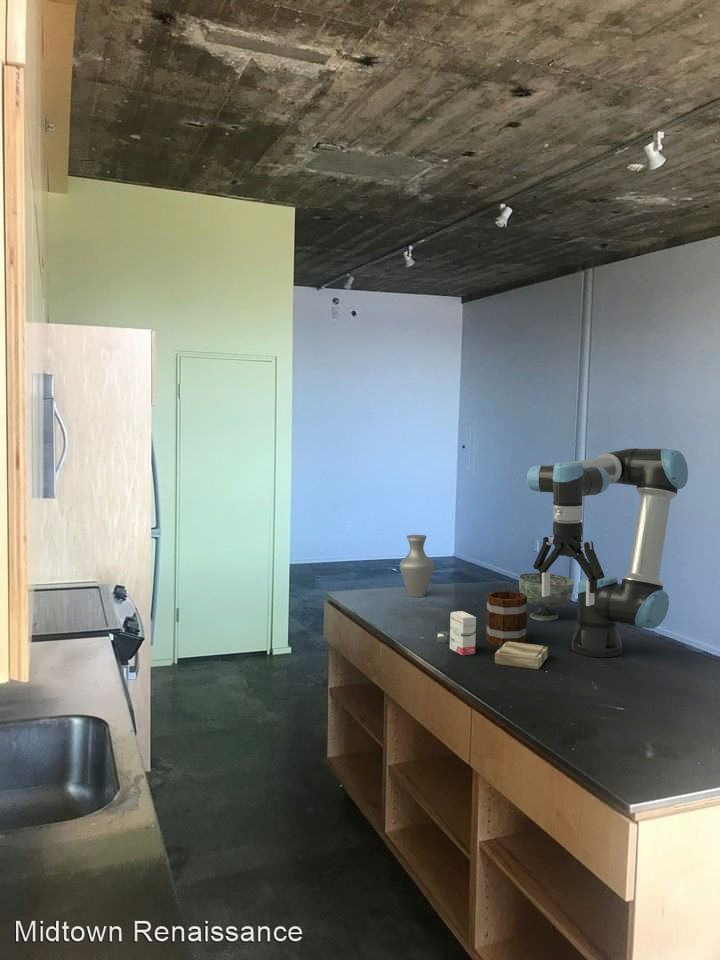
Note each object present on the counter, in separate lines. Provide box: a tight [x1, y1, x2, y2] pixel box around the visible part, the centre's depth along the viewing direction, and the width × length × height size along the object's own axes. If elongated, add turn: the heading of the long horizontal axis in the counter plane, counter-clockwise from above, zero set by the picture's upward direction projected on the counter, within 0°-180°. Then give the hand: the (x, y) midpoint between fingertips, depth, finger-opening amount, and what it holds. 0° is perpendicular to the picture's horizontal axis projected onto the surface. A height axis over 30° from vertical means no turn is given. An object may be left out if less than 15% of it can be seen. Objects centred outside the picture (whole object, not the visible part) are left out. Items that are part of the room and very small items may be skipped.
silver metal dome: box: [436, 630, 450, 645], centre depth 245 cm, size 4×4×3 cm
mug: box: [485, 590, 528, 647], centre depth 248 cm, size 20×14×15 cm
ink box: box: [449, 610, 477, 656], centre depth 234 cm, size 9×5×12 cm, turn 22°
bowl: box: [518, 572, 575, 622], centre depth 273 cm, size 20×19×15 cm
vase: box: [399, 534, 435, 598], centre depth 309 cm, size 14×14×25 cm
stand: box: [494, 642, 549, 670], centre depth 225 cm, size 13×13×4 cm
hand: (567, 600), depth 198 cm, fingers open, 13 cm apart
